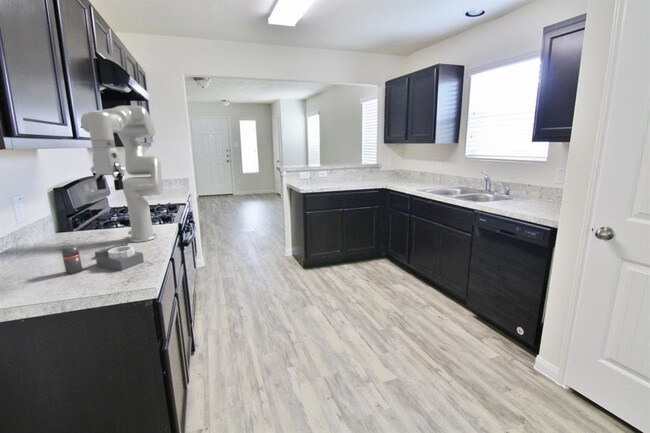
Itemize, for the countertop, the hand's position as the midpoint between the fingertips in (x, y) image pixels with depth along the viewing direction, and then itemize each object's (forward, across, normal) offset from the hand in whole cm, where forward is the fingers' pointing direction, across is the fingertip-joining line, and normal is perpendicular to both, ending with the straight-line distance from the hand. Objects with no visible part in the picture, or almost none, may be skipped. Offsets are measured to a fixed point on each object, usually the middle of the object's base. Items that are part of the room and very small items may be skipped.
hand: (110, 189), depth 133 cm
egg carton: (+31, +14, -7) cm, 34 cm away
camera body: (+31, 0, +1) cm, 31 cm away
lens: (+31, +10, +13) cm, 35 cm away
